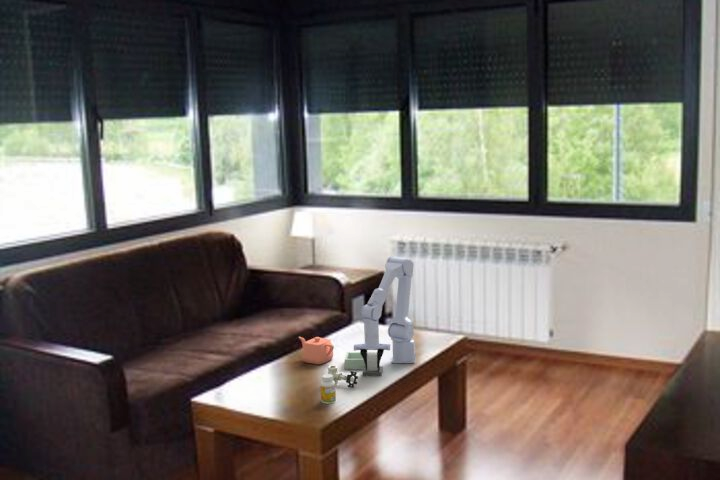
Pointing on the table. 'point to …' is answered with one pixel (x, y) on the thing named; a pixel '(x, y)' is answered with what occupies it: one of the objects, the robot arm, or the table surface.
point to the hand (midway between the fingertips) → (372, 367)
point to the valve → (343, 376)
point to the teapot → (317, 350)
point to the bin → (354, 360)
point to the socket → (372, 372)
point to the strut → (372, 362)
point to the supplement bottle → (328, 389)
